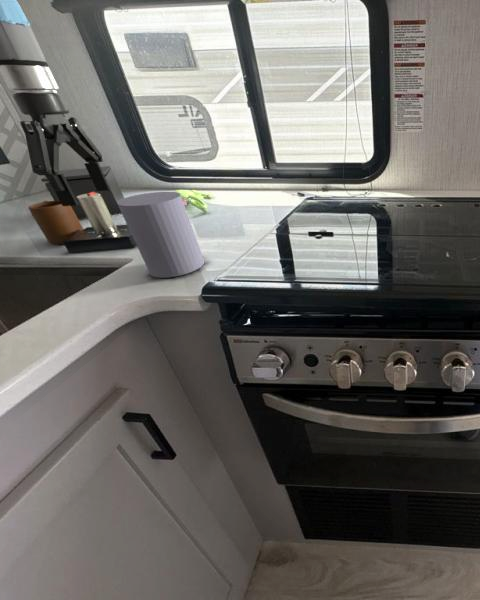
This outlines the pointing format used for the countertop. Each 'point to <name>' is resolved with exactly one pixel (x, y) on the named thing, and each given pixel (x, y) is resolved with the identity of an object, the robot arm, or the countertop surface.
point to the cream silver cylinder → (97, 213)
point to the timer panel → (100, 240)
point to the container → (162, 233)
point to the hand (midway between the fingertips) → (88, 197)
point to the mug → (55, 220)
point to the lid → (77, 173)
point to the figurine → (196, 196)
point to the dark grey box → (87, 186)
